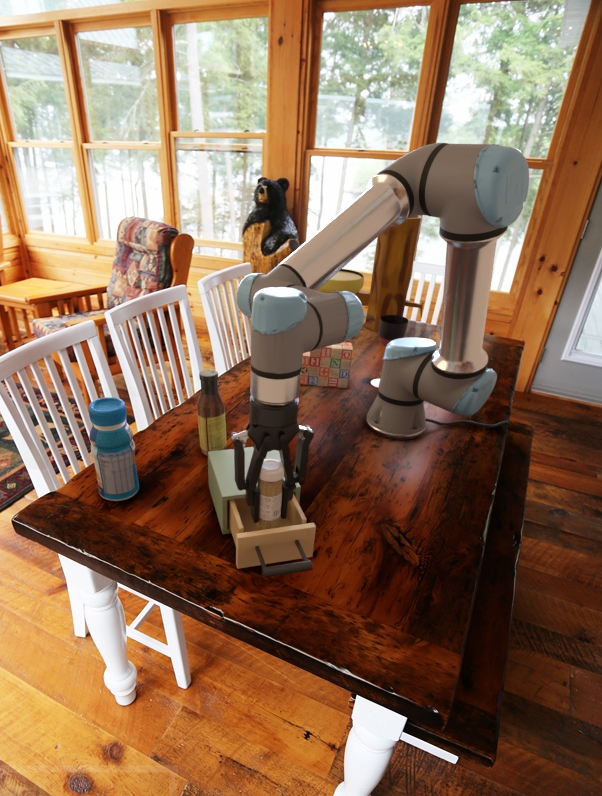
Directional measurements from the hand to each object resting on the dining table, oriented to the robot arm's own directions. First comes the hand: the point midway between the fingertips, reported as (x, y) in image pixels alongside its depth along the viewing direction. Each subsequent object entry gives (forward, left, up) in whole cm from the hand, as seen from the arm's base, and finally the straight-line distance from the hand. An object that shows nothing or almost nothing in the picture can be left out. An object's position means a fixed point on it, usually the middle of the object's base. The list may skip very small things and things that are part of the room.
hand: (268, 515), depth 90 cm
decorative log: (-10, -140, -7) cm, 140 cm away
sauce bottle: (+21, -28, -7) cm, 35 cm away
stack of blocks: (+6, -76, -7) cm, 76 cm away
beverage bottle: (+34, -7, -7) cm, 35 cm away
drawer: (-1, +2, -6) cm, 6 cm away
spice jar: (0, 0, -3) cm, 3 cm away
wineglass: (-15, -82, -7) cm, 83 cm away
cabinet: (+6, -11, -7) cm, 14 cm away
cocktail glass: (+6, -109, -7) cm, 109 cm away
